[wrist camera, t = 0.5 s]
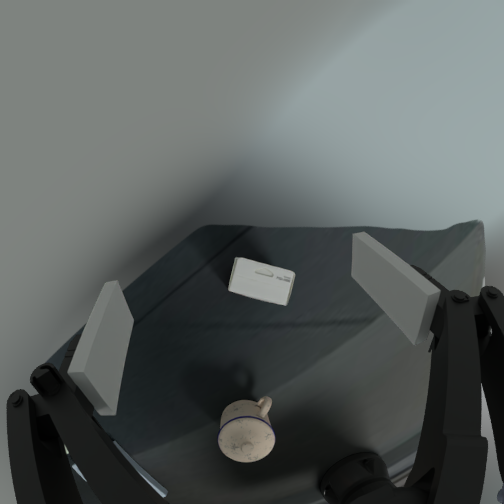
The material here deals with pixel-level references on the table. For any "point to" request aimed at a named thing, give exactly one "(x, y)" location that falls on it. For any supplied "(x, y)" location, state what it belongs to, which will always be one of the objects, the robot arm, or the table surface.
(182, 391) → the table surface
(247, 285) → the ink box
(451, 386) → the robot arm
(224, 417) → the teacup with lid
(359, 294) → the table surface
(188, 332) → the table surface
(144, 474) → the slate-blue holder
